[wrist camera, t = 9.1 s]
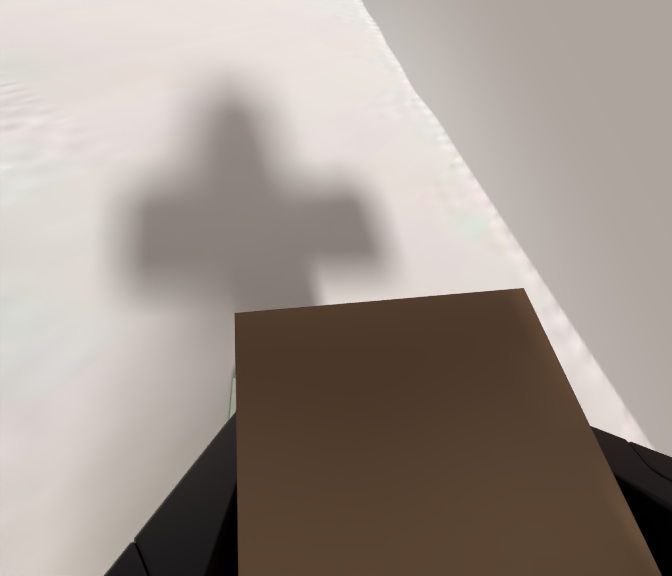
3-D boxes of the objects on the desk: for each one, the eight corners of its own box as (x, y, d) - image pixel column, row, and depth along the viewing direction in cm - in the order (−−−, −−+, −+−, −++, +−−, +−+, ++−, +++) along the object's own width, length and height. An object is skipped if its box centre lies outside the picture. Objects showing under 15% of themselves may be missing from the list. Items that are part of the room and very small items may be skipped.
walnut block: (404, 528, 12) (717, 690, 3) (277, 556, 11) (243, 880, 2) (377, 398, 14) (523, 288, 5) (269, 414, 13) (235, 313, 5)
